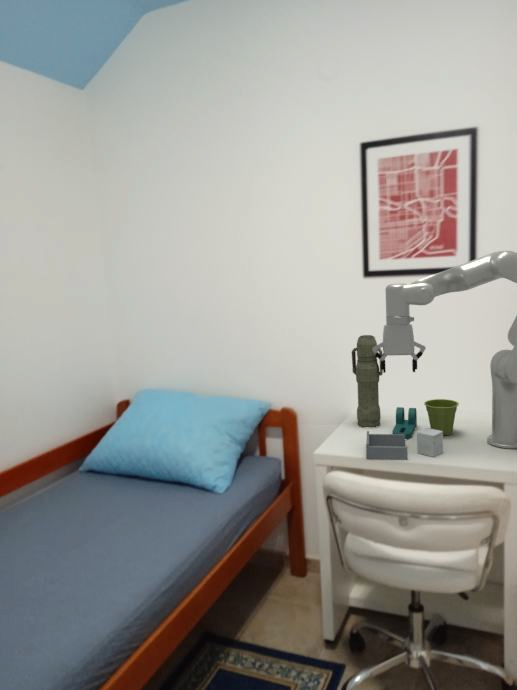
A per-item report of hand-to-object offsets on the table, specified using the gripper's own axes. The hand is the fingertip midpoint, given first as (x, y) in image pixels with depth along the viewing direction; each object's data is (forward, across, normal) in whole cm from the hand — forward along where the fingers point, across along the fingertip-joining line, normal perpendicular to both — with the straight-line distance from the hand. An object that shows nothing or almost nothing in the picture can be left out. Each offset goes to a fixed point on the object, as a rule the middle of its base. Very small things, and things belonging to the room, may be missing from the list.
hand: (399, 371), depth 182 cm
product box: (+26, -9, +7) cm, 29 cm away
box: (+26, +4, +7) cm, 27 cm away
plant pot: (+26, -15, -14) cm, 33 cm away
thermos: (+26, +11, -24) cm, 37 cm away
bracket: (+26, -2, -15) cm, 31 cm away
